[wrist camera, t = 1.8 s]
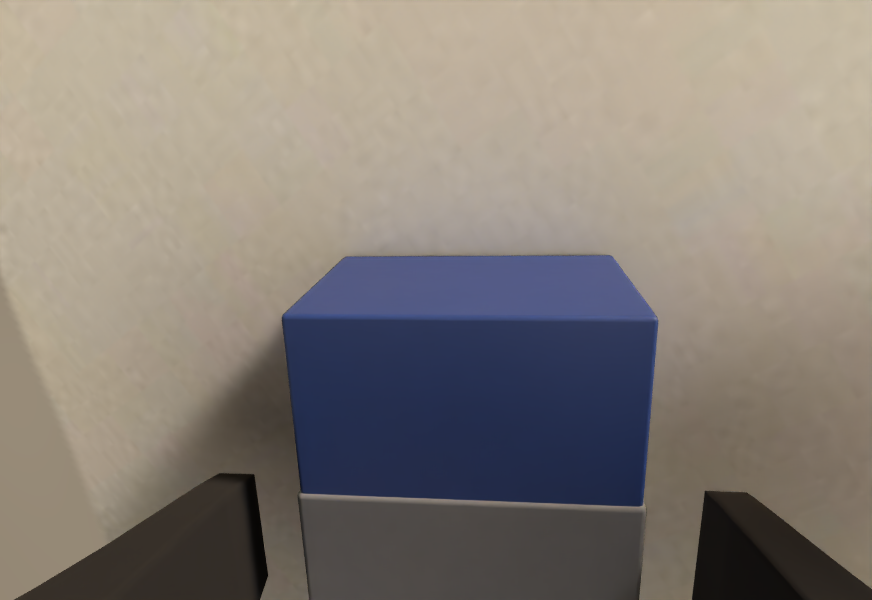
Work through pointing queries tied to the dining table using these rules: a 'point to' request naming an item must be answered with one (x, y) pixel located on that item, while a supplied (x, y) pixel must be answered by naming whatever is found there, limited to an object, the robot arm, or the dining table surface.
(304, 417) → the block
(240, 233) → the dining table surface
